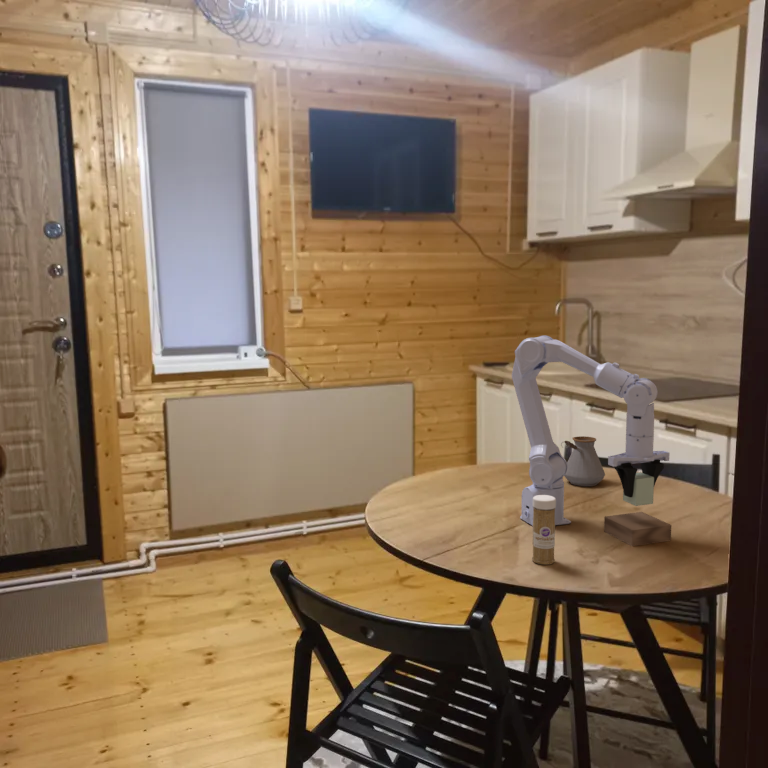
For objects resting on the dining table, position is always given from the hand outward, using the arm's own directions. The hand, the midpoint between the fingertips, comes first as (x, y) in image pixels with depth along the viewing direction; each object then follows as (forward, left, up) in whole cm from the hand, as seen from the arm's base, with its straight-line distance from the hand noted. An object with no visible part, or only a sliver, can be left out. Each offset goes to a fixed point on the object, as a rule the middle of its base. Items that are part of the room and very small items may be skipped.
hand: (637, 494), depth 157 cm
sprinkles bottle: (-27, -6, -10) cm, 29 cm away
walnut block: (0, 0, -9) cm, 9 cm away
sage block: (0, 0, -2) cm, 2 cm away
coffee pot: (+10, +39, -10) cm, 41 cm away
